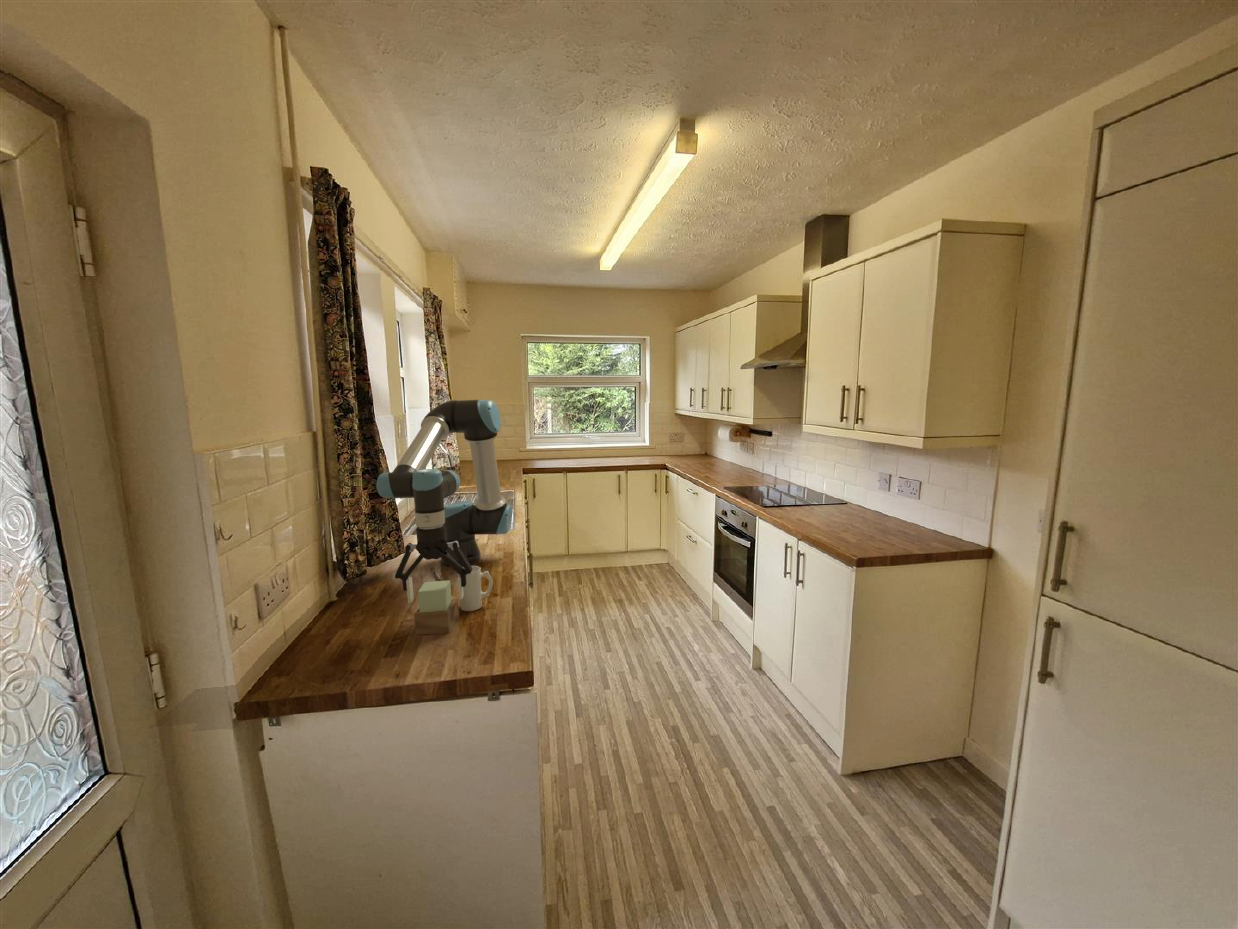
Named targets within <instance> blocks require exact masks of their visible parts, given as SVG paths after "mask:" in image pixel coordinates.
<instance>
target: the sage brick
mask: <svg viewBox="0 0 1238 929" xmlns="http://www.w3.org/2000/svg"><path fill="white" fill-rule="evenodd" d="M417 594H418V596H417V597H418V607H419V608H418V609H420V613H423V612H436V611H447V609H448V607H449V604H450V602H451V600H453V598H452V588H451V580H449V579H448V580H435V581H434V580H433V581H424V582H423V584H422V585H421V587H420V588H419V589H418V591H417Z"/></svg>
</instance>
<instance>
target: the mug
mask: <svg viewBox="0 0 1238 929" xmlns="http://www.w3.org/2000/svg"><path fill="white" fill-rule="evenodd" d="M462 567H463V566H462ZM471 567H472V571H471V573H470V574H467V575H466V582H467V583H466V586H465V587H463V594H464V596H463V598H462V599H460V600H459V604H460V610H462V611H464V612H474V611H477V610H479V609H481V608H482V607H483V599H484V598H488V597H489V596H490V594H491V592H492V589H493V584H494V583H493V577H491V575H490V572H489V571H488V570H486V571H484V572H482V571H481V569H482V567H481V566H478V565H471ZM463 568H464V567H463ZM458 576H459V574H458V573H457V577H458ZM483 577H484V578H486V579H487V580H488V588H487V589H486V591H485V592H484V591H482V578H483Z"/></svg>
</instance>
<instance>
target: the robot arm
mask: <svg viewBox="0 0 1238 929" xmlns="http://www.w3.org/2000/svg"><path fill="white" fill-rule="evenodd" d="M501 418H502V417H501V413H500V410H499V408H498V405H497V404H496V403H495V402H494V401H493V400H489V399H467V400H466V399H464V400H461V399H460V400H459V399H458V400H455V399H453V400H448V401H444V402H442V403H441V404H438V405H437V406H435V407H434V408H433V409H431V410H430V411H429V412H428V413H427V414H425V416H424V418H423V419H422V421H421V422H420V429H419V431H418V433H417V434H416V436H415V437H414V439H413V440H412V442H411V443H410V445H409V446H408V447H407V449H406V451H405V452H404V453H403V455H402V457H401V458H400V460H399V462H398V463H397V464H396V466H395V467H394V469H393V470H392V472H390V471H387V472H382V473H380V474H379V475H378V477H377V480H376V491H377V492H378V495H379V496H380V497H382V498H385V499H413V500H414V501H413V502H414V518H415V526H416V527H417V528H416V530H415V531H416V541H417V542H416V543H417V544H415V543H414V544H413V543H412V542H408V543H407V544H406V545H405V547H404V554H403V556H402V559H401V560H400V564H399V565H398V568H397V570H396V572H395V575H394V578H395V579H396V580H397V579H399V580H402V589H403V591H404V592H406V596H407V603H408V604H412V602H413V601H414V599H415V597H414V585H413V577H412V576H410V575H411V574H412V573H413V572H414V570H415V569H416V568H417V566H418V565H419V564H420V563H421V562H422V561H423V559H425V560H427V561H431V560H439V559H440V563H441V564H442V565H443V566H449V567H451V568H452V569H453V570H454V571H455V572H456V573H457V590H458V601H460V599H462V598H463V596H464V594H463V587H465V586H466V583H467V582H466V575H467V574H470V573H471V571H472V567H471V566H472V564H475V563H476V562H478V561H480V560H481V558H482V556H481V554H482V553H481V550H480V548H479V545H478V542H477V540H476V535H478V536H479V535H481V536H482V535H483V536H484V535H489V536H490V535H496V536H498V535H505V534H507V533H508V532H509V531H510V528H511V525H512V520H513V507H512V504H507V499H506V498H505V497H504V496H502V492H501V484H500V477H499V476H500V475H499V471H498V470H499V468H498V462H497V456H496V454H497V453H496V448H495V447H496V446H495V439H496V438H497V437H498V432H500V431H501V429H502V423H501V422H502V419H501ZM457 433H458V434H459V433H460V434H463V437H464V440H465V441H466V442H468V443H469V447H470V451H471V452H470V453H471V458H472V465H473V472H474V478H475V486H476V491H477V492H476V493H477V496H478V497H477V498H478V500H477V501H476V502H475V503H474V502H473V501H472V500H464V501H462V500H461V501H457V502H452V503H450V504H446V505H445V500H444V499H445V498H448V497H450V496H453V495H454V494H455V493H456V492H457V491H458V490H459V488H460V486H461V480H460V476H459V475H458V474H457V473H456V472H455V471H453V470H450V469H445V470H444V469H443V470H440V469H437V468H427V466H428V464H429V463H430V462H431V460H432V458H433V455H434V454H435V452H436V451H437V449H438V447H439V445H440V443H441V441H442V440H445V439H446V438H447V437H448V436H449V435H450V434H457ZM415 550H416V551H417V552H418V554H419V555H418V557H416V559H415V561H413V563H412V564H411V566H409V568H408V569H407V571H406V572H404V570H405V567H406V566H407V563H408V561H409V559H410V557H411V554H412V553H413V552H414V551H415ZM463 567H464V568H463ZM458 574H459V576H458Z"/></svg>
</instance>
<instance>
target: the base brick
mask: <svg viewBox="0 0 1238 929" xmlns="http://www.w3.org/2000/svg"><path fill="white" fill-rule="evenodd" d="M459 610H460V609H459V598H458V599H456V598H455V599H453V598H452V600H451V602H450V604H449V607H448V609H447V611H436V612H423V613H420V609H419V608H418V609H417V610H416V611H415V613H414V614H413V615H414V616H413V617H414V629H415V630H414V632H415V635H428V634H429V635H432V634H435V635H436V634H450V632H451V631H452V629H453V628H454V627H455V625H456V624H457V622H458V621H459V619H460V611H459Z"/></svg>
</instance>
